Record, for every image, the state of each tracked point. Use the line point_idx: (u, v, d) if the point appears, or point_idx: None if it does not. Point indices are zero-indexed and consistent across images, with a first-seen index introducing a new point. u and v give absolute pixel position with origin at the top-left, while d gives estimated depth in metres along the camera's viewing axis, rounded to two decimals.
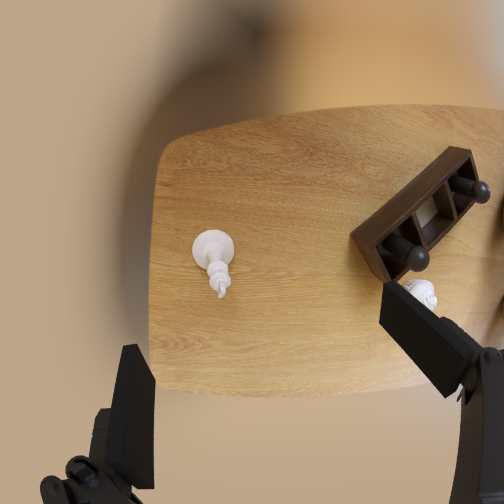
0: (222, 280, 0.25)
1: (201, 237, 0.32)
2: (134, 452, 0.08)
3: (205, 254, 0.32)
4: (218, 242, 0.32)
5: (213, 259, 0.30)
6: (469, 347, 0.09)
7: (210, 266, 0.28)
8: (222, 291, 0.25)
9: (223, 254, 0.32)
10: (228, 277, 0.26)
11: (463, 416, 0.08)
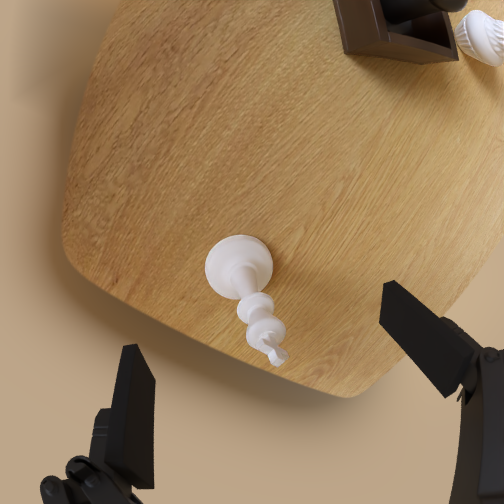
0: (259, 346, 0.13)
1: (208, 276, 0.20)
2: (134, 452, 0.08)
3: (233, 288, 0.20)
4: (229, 259, 0.20)
5: (240, 295, 0.17)
6: (469, 347, 0.09)
7: (241, 317, 0.16)
8: (274, 361, 0.12)
9: (249, 264, 0.19)
10: (266, 322, 0.14)
11: (463, 416, 0.08)
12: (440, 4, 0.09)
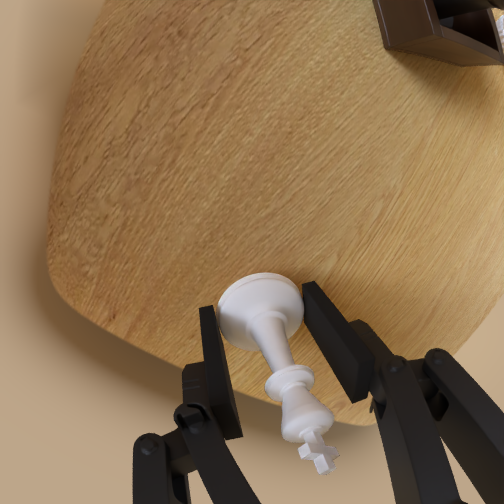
0: (303, 453, 0.07)
1: (221, 327, 0.15)
2: (231, 397, 0.10)
3: (254, 342, 0.15)
4: (249, 307, 0.15)
5: (266, 359, 0.12)
6: (369, 353, 0.10)
7: (270, 395, 0.11)
8: (323, 471, 0.07)
9: (276, 314, 0.14)
10: (312, 417, 0.08)
11: (381, 430, 0.09)
12: (496, 0, 0.05)
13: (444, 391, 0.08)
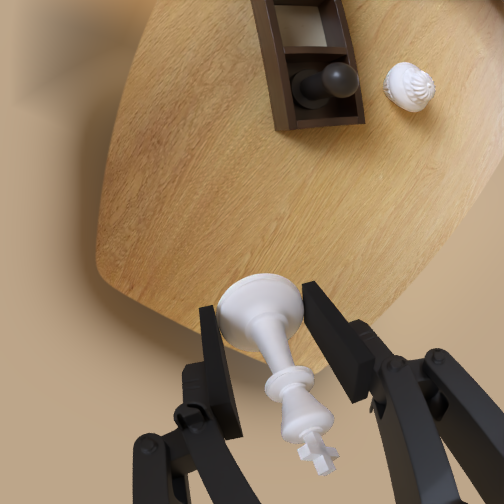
0: (303, 454, 0.07)
1: (221, 327, 0.15)
2: (231, 396, 0.10)
3: (254, 343, 0.15)
4: (249, 308, 0.15)
5: (266, 360, 0.12)
6: (369, 353, 0.10)
7: (270, 396, 0.11)
8: (323, 472, 0.07)
9: (276, 314, 0.14)
10: (312, 418, 0.08)
11: (381, 430, 0.09)
12: (333, 95, 0.20)
13: (444, 391, 0.08)
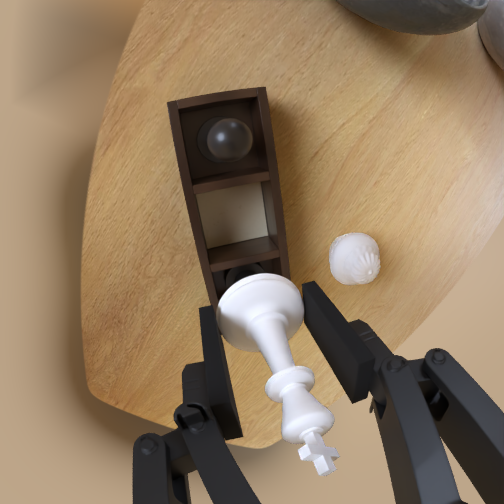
0: (303, 454, 0.07)
1: (221, 327, 0.15)
2: (231, 396, 0.10)
3: (255, 343, 0.15)
4: (249, 308, 0.15)
5: (267, 361, 0.12)
6: (369, 353, 0.10)
7: (270, 396, 0.11)
8: (323, 472, 0.07)
9: (277, 315, 0.14)
10: (312, 418, 0.08)
11: (381, 430, 0.09)
12: None
13: (444, 391, 0.08)
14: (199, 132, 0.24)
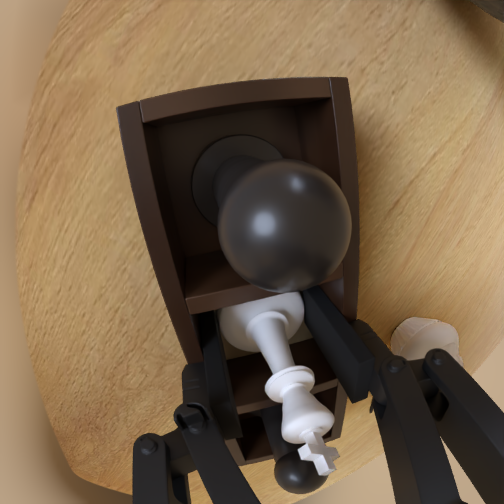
0: (303, 454, 0.07)
1: (221, 327, 0.15)
2: (231, 397, 0.10)
3: (255, 343, 0.15)
4: (249, 308, 0.15)
5: (267, 360, 0.12)
6: (369, 353, 0.10)
7: (270, 396, 0.11)
8: (323, 472, 0.07)
9: (277, 314, 0.14)
10: (312, 418, 0.08)
11: (381, 430, 0.09)
12: None
13: (444, 391, 0.08)
14: (196, 169, 0.12)
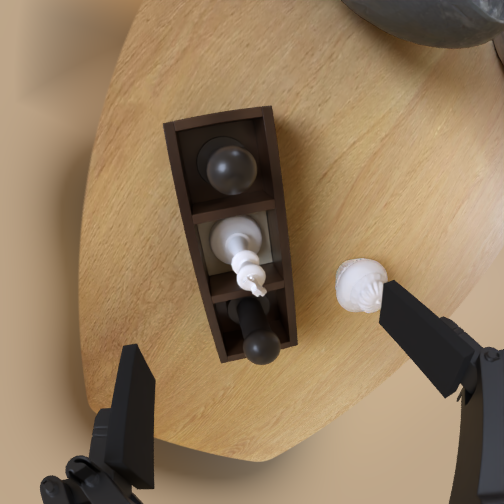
0: (244, 281, 0.19)
1: (211, 245, 0.26)
2: (134, 452, 0.08)
3: (230, 253, 0.26)
4: (227, 231, 0.26)
5: (235, 255, 0.23)
6: (469, 347, 0.09)
7: (234, 269, 0.22)
8: (255, 292, 0.18)
9: (243, 235, 0.25)
10: (251, 267, 0.20)
11: (463, 416, 0.08)
12: None
13: None
14: (199, 154, 0.23)
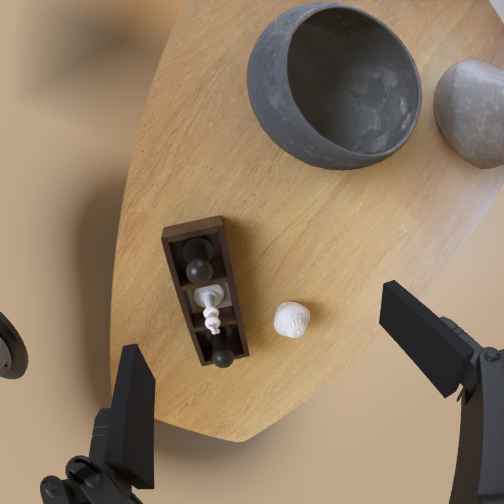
0: (208, 326, 0.35)
1: (193, 297, 0.43)
2: (134, 452, 0.08)
3: (205, 303, 0.43)
4: (202, 290, 0.42)
5: (206, 307, 0.40)
6: (469, 347, 0.09)
7: (205, 316, 0.39)
8: (212, 332, 0.35)
9: (211, 293, 0.42)
10: (211, 318, 0.36)
11: (463, 416, 0.08)
12: None
13: None
14: (183, 248, 0.40)
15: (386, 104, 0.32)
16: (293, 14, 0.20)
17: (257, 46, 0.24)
